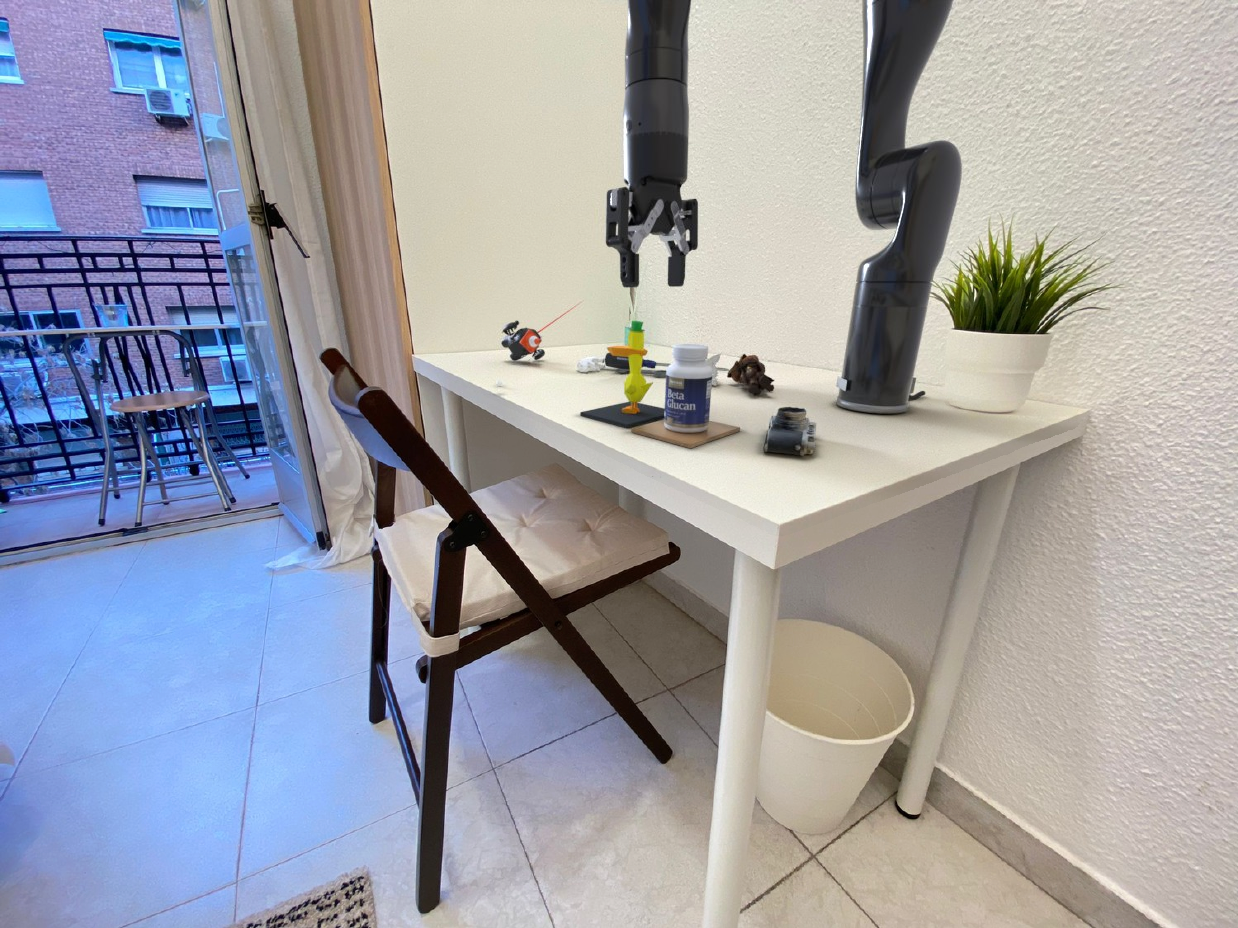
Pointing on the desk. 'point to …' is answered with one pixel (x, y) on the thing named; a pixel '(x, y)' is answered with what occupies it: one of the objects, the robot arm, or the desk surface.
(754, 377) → the figurine
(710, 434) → the copper plate
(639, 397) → the toy figure
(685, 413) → the pill bottle
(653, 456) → the desk surface
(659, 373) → the key
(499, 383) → the sphere
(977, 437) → the desk surface
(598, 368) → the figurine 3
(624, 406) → the rubber mat
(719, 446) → the desk surface
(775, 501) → the desk surface
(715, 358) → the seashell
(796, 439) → the camera
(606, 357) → the screwdriver
